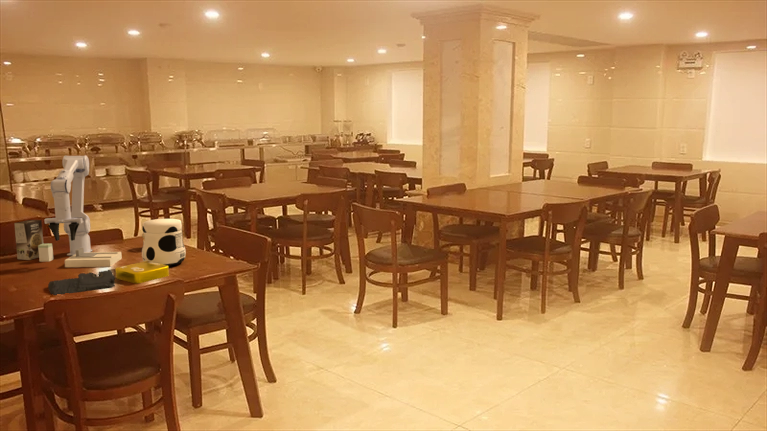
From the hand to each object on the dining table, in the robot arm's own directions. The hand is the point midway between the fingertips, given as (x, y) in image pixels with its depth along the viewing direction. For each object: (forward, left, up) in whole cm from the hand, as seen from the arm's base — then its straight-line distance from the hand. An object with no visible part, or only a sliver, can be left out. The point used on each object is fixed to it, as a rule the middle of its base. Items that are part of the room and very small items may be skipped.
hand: (65, 240), depth 260 cm
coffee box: (-12, -20, -10) cm, 25 cm away
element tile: (+24, +38, -11) cm, 46 cm away
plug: (-6, -11, -10) cm, 16 cm away
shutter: (0, +8, -7) cm, 11 cm away
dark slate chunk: (+36, +20, -11) cm, 43 cm away
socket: (0, +10, -10) cm, 14 cm away
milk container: (+4, +41, -10) cm, 42 cm away
